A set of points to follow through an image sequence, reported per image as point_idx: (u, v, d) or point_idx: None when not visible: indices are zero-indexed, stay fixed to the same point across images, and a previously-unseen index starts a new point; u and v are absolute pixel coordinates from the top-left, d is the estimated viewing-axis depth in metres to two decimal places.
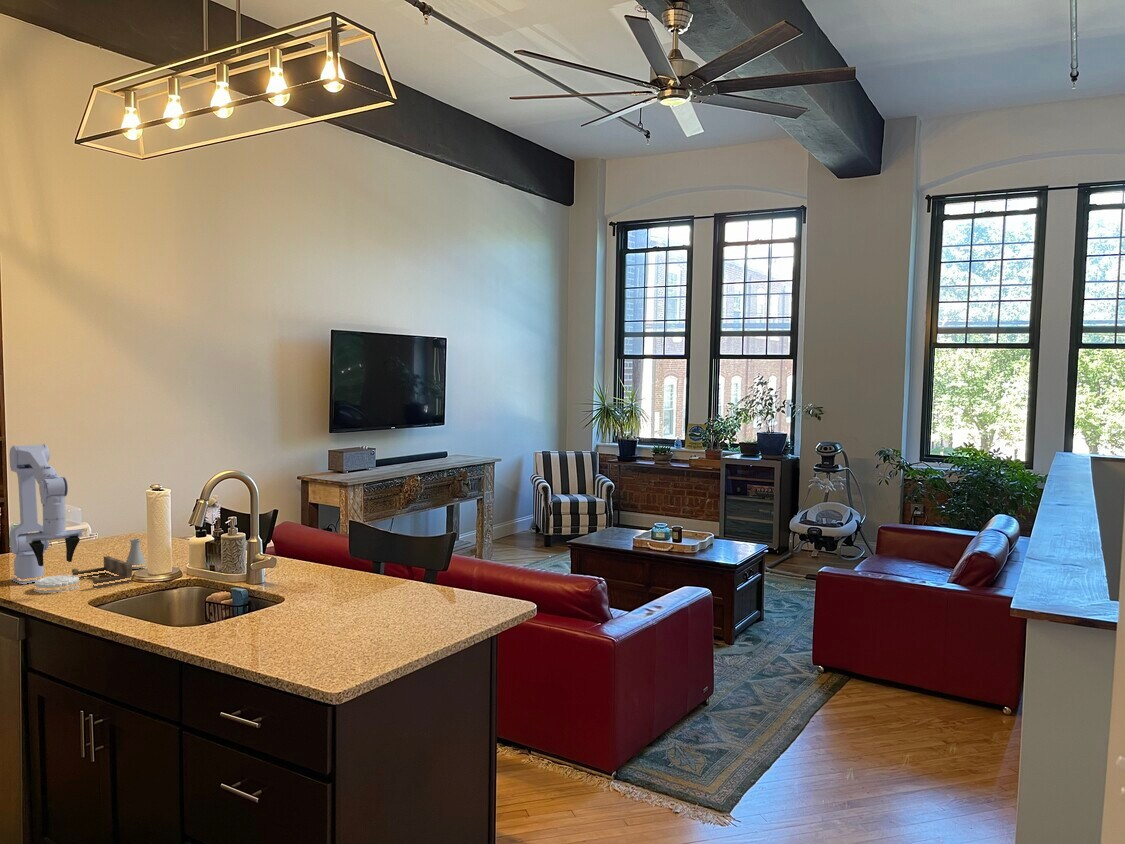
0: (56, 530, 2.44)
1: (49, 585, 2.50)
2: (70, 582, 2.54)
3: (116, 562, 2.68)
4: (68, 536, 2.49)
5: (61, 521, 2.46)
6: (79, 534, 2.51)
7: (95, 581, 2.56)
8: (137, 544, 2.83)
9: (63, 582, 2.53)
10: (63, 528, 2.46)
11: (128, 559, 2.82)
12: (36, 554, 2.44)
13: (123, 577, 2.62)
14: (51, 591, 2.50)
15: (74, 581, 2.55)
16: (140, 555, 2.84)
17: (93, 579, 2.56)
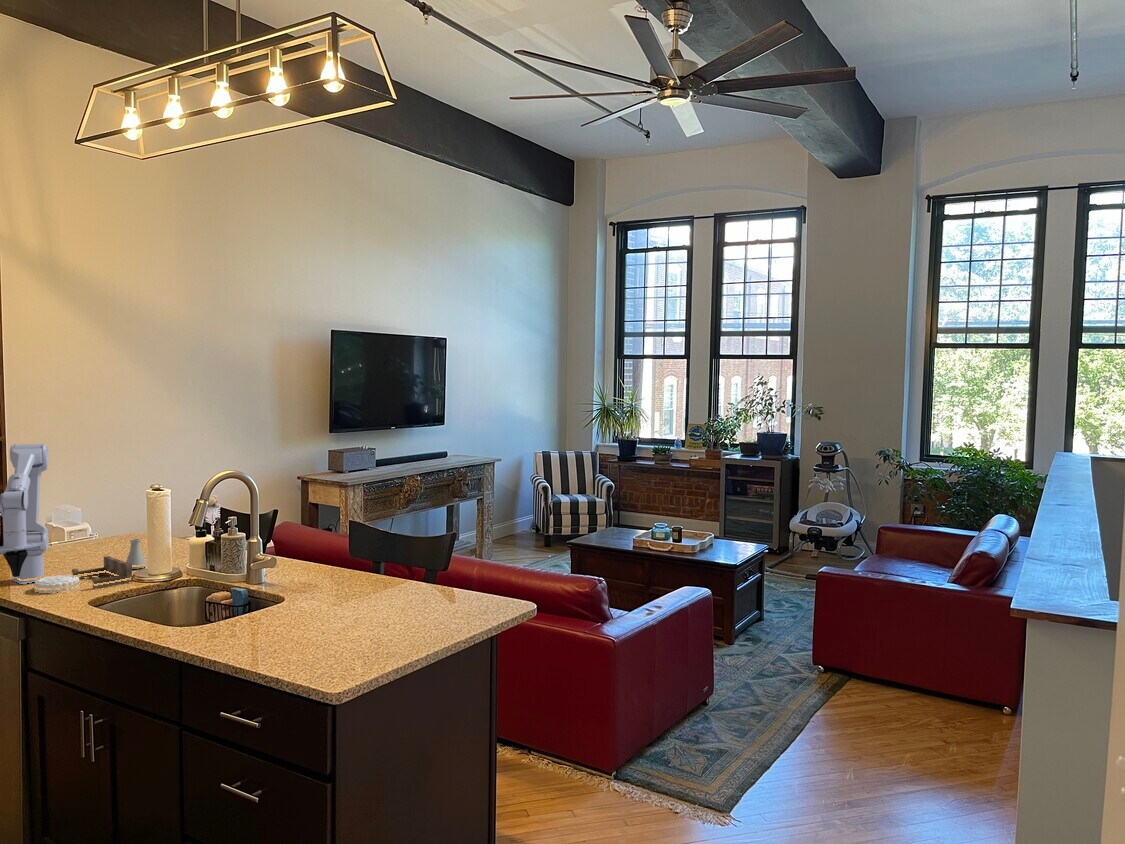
0: (16, 542, 2.45)
1: (49, 585, 2.50)
2: (70, 582, 2.54)
3: (116, 562, 2.68)
4: (29, 549, 2.49)
5: (21, 534, 2.46)
6: (40, 547, 2.51)
7: (95, 581, 2.56)
8: (137, 544, 2.83)
9: (63, 582, 2.53)
10: (24, 541, 2.47)
11: (128, 559, 2.82)
12: (10, 565, 2.47)
13: (123, 577, 2.62)
14: (51, 591, 2.50)
15: (74, 581, 2.55)
16: (140, 555, 2.84)
17: (93, 579, 2.56)
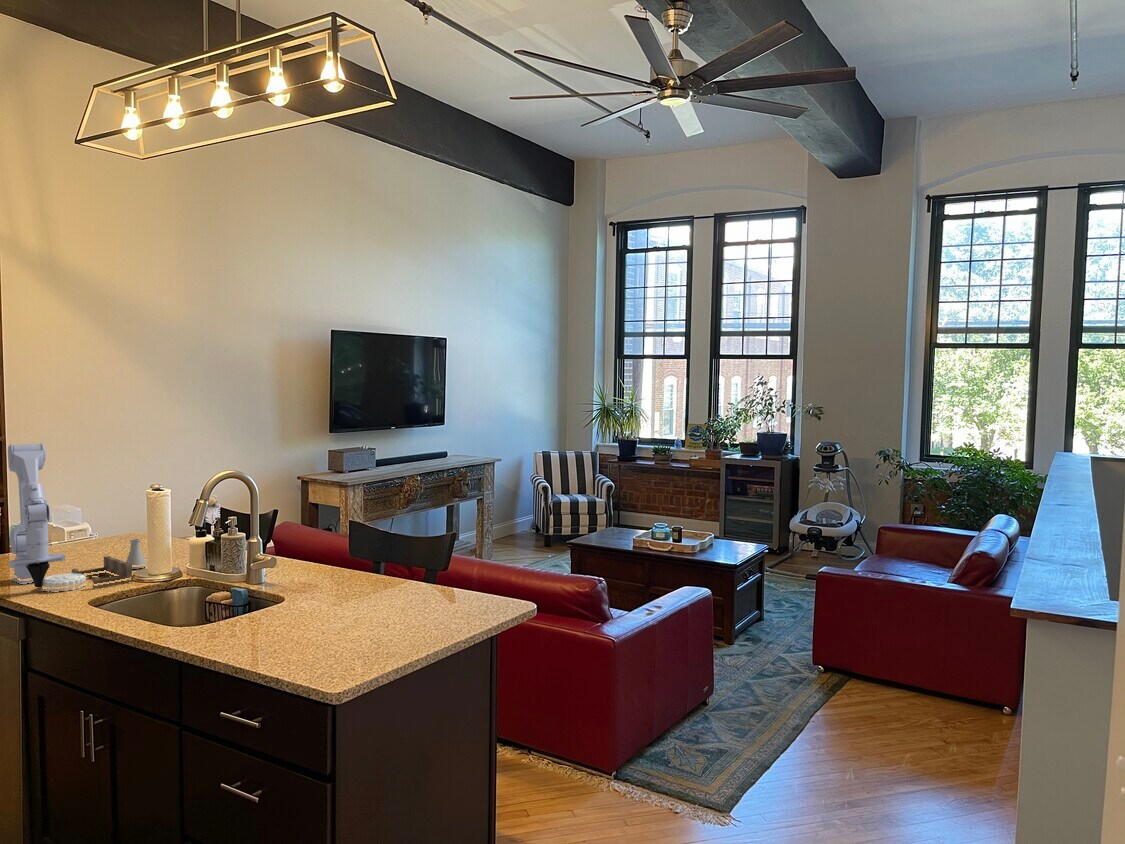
0: (38, 555, 2.49)
1: (56, 583, 2.52)
2: (77, 580, 2.55)
3: (116, 562, 2.68)
4: (51, 560, 2.54)
5: (44, 546, 2.51)
6: (62, 558, 2.56)
7: (95, 581, 2.56)
8: (137, 544, 2.83)
9: (70, 580, 2.54)
10: (46, 553, 2.51)
11: (128, 559, 2.82)
12: (33, 576, 2.52)
13: (123, 577, 2.62)
14: (58, 589, 2.52)
15: (81, 579, 2.57)
16: (140, 555, 2.84)
17: (93, 579, 2.56)
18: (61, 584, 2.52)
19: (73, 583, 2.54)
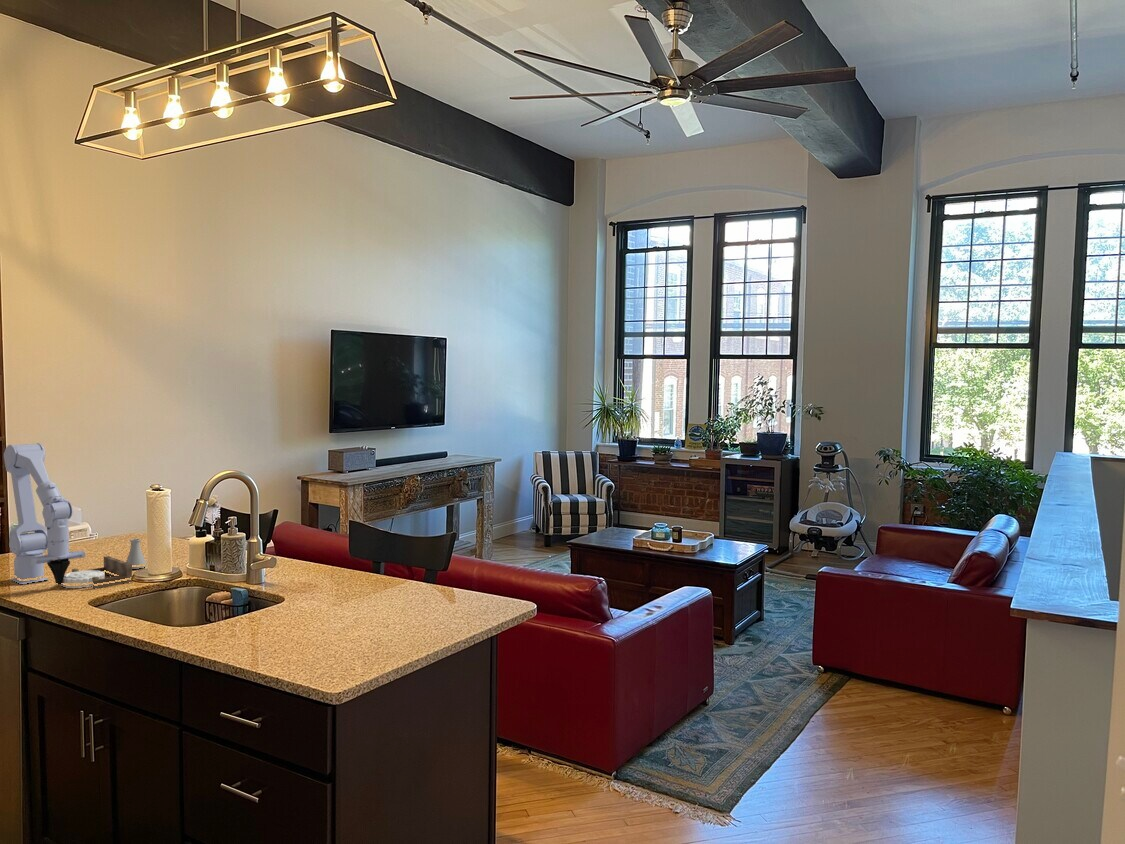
0: (59, 552, 2.54)
1: (77, 580, 2.56)
2: None
3: (116, 562, 2.68)
4: (71, 557, 2.59)
5: (65, 543, 2.55)
6: (82, 555, 2.60)
7: (95, 581, 2.56)
8: (137, 544, 2.83)
9: (90, 577, 2.58)
10: (67, 550, 2.56)
11: (128, 559, 2.82)
12: (54, 573, 2.56)
13: (123, 577, 2.62)
14: (79, 586, 2.56)
15: (100, 576, 2.61)
16: (140, 555, 2.84)
17: (93, 579, 2.56)
18: (82, 581, 2.57)
19: None
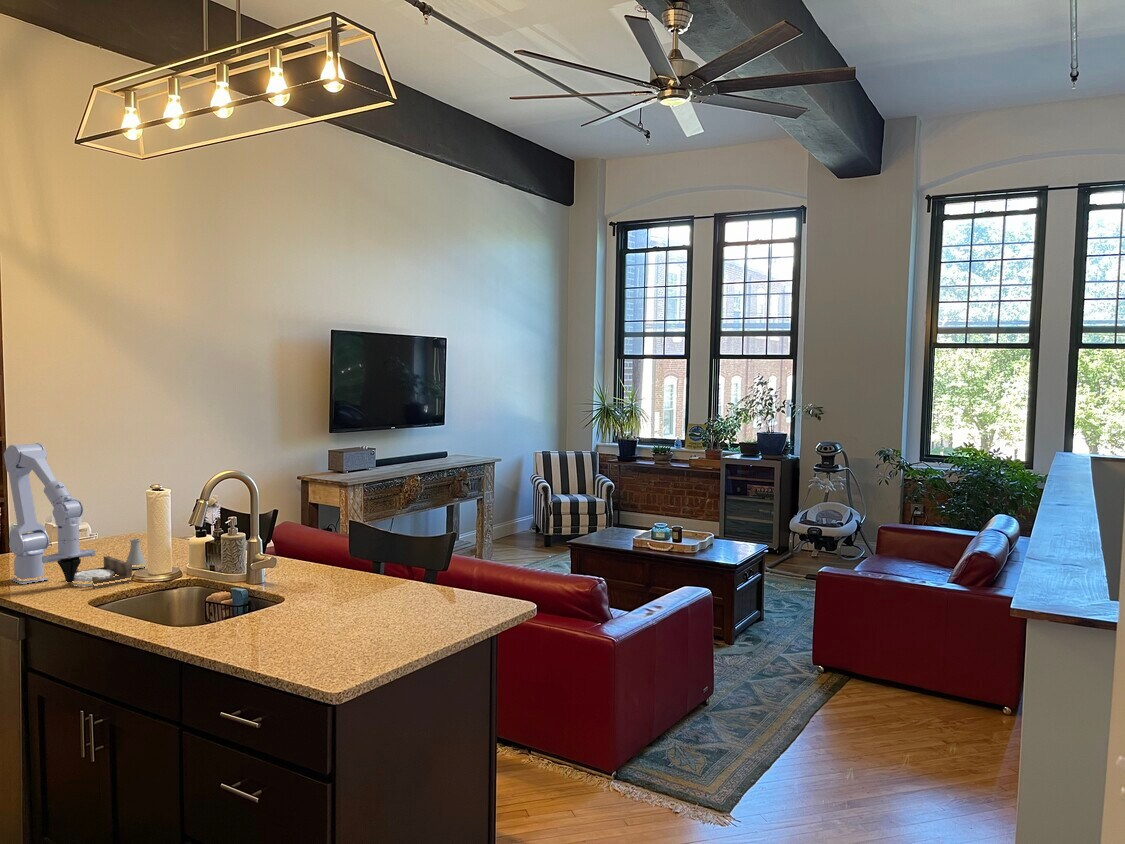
0: (70, 550, 2.56)
1: (87, 579, 2.59)
2: (107, 576, 2.62)
3: (116, 562, 2.68)
4: (82, 556, 2.61)
5: (75, 542, 2.57)
6: (92, 554, 2.63)
7: (95, 581, 2.56)
8: (137, 544, 2.83)
9: (100, 576, 2.61)
10: (77, 549, 2.58)
11: (128, 559, 2.82)
12: (64, 571, 2.58)
13: (123, 577, 2.62)
14: (89, 584, 2.59)
15: (110, 575, 2.64)
16: (140, 555, 2.84)
17: (93, 579, 2.56)
18: None
19: None
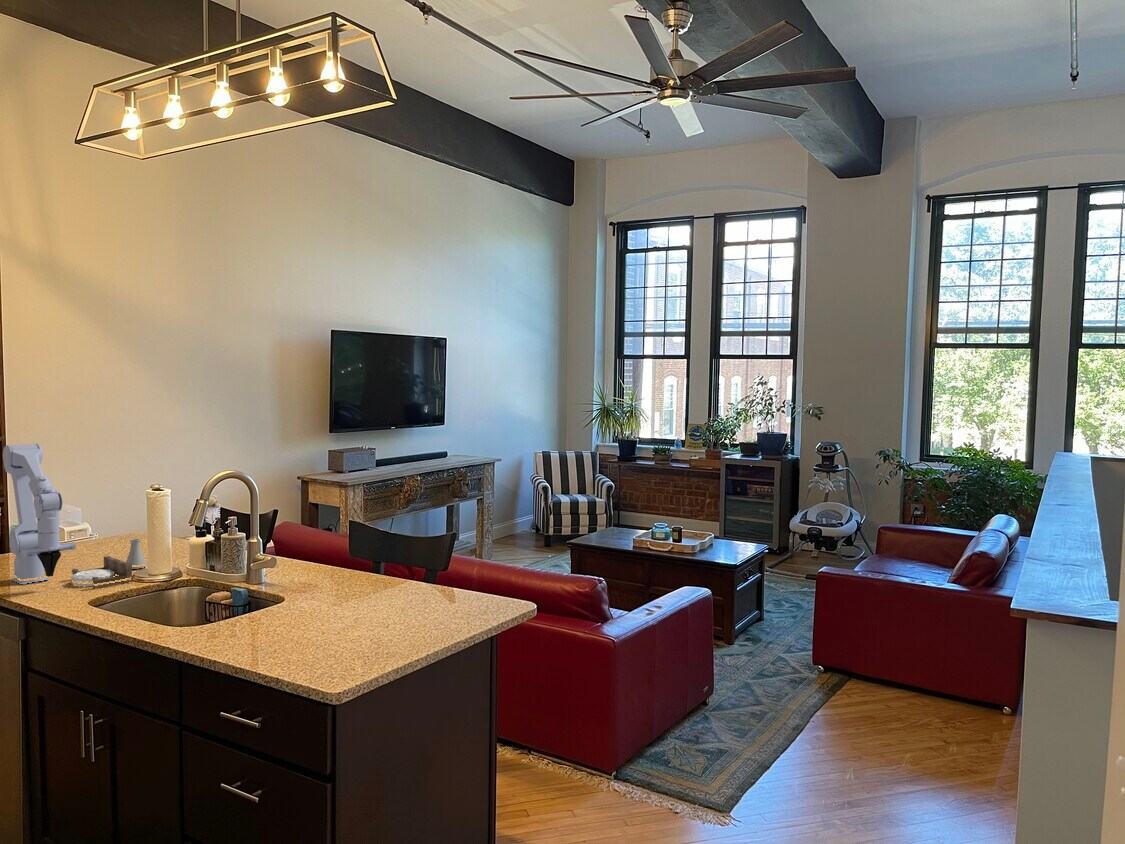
0: (50, 543, 2.52)
1: (87, 579, 2.59)
2: (107, 576, 2.62)
3: (116, 562, 2.68)
4: (62, 549, 2.57)
5: (55, 535, 2.53)
6: (73, 547, 2.58)
7: (95, 581, 2.56)
8: (137, 544, 2.83)
9: (100, 576, 2.61)
10: (58, 542, 2.54)
11: (128, 559, 2.82)
12: (44, 565, 2.54)
13: (123, 577, 2.62)
14: (89, 584, 2.59)
15: (110, 575, 2.64)
16: (140, 555, 2.84)
17: (93, 579, 2.56)
18: None
19: None
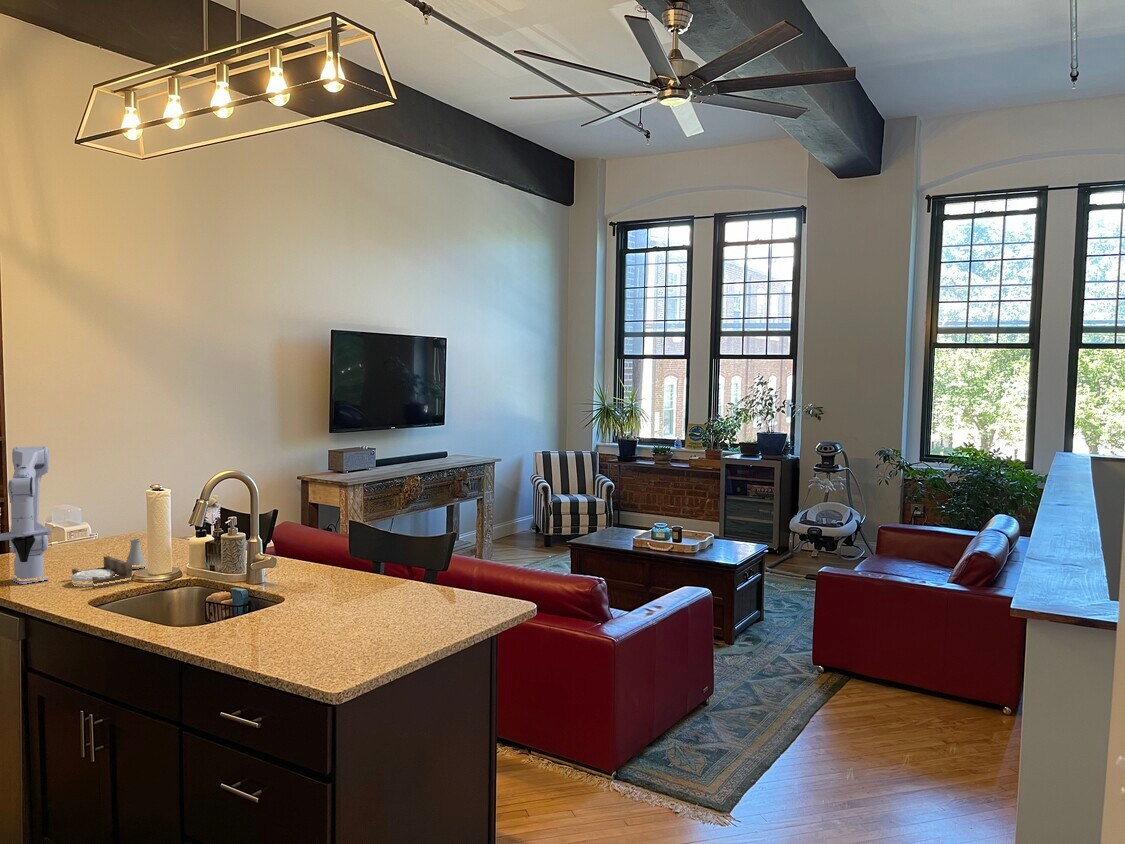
0: (24, 528, 2.49)
1: (87, 579, 2.59)
2: (107, 576, 2.62)
3: (116, 562, 2.68)
4: (37, 535, 2.54)
5: (29, 520, 2.50)
6: (48, 533, 2.55)
7: (95, 581, 2.56)
8: (137, 544, 2.83)
9: (100, 576, 2.61)
10: (32, 527, 2.51)
11: (128, 559, 2.82)
12: (18, 550, 2.51)
13: (123, 577, 2.62)
14: (89, 584, 2.59)
15: (110, 575, 2.64)
16: (140, 555, 2.84)
17: (93, 579, 2.56)
18: None
19: (103, 578, 2.61)
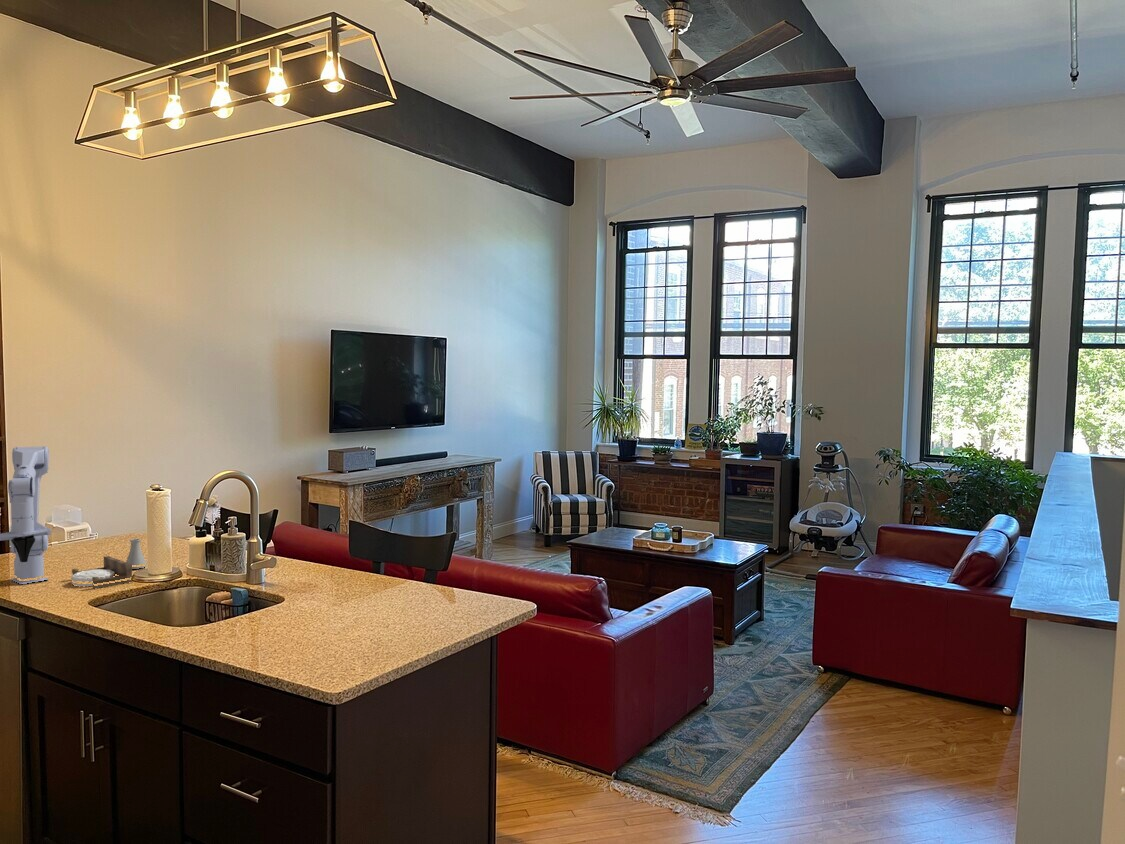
0: (24, 528, 2.49)
1: (87, 579, 2.59)
2: (107, 576, 2.62)
3: (116, 562, 2.68)
4: (37, 535, 2.54)
5: (29, 520, 2.50)
6: (48, 533, 2.55)
7: (95, 581, 2.56)
8: (137, 544, 2.83)
9: (100, 576, 2.61)
10: (32, 527, 2.51)
11: (128, 559, 2.82)
12: (18, 550, 2.51)
13: (123, 577, 2.62)
14: (89, 584, 2.59)
15: (110, 575, 2.64)
16: (140, 555, 2.84)
17: (93, 579, 2.56)
18: None
19: (103, 578, 2.61)
